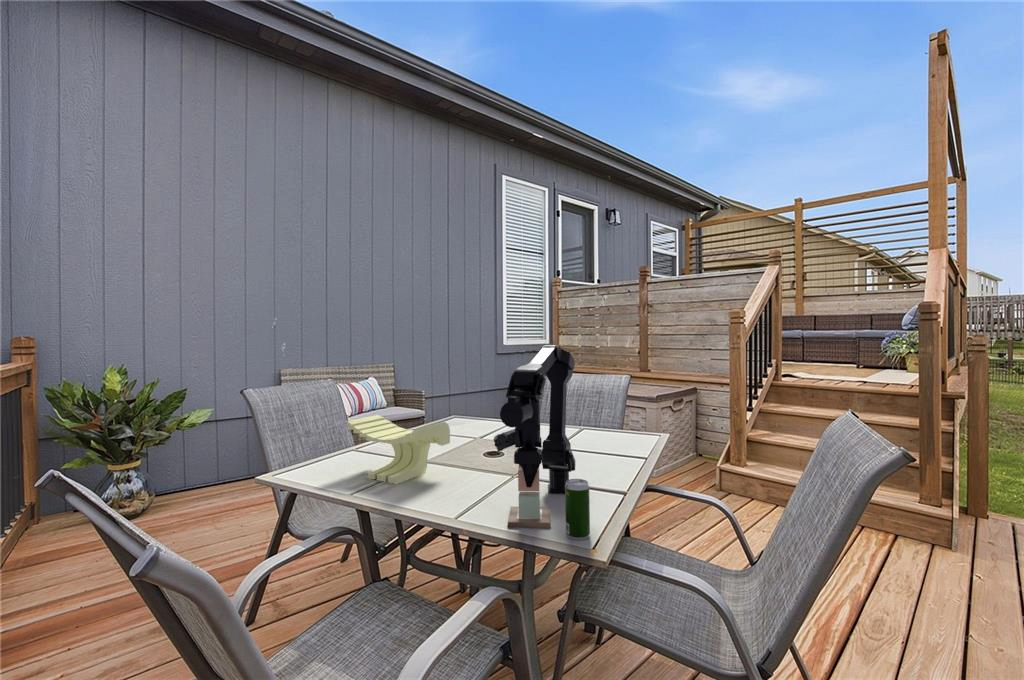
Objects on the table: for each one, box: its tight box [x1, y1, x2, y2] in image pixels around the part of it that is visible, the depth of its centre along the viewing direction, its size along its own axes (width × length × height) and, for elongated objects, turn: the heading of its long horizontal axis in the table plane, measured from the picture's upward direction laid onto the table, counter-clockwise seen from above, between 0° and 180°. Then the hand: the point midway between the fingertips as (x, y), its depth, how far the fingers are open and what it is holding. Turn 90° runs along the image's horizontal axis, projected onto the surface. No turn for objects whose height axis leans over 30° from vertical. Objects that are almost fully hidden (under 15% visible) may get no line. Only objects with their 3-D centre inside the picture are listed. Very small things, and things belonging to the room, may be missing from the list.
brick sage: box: [518, 489, 541, 518], centre depth 112 cm, size 5×5×5 cm
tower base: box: [507, 506, 551, 529], centre depth 112 cm, size 10×10×1 cm
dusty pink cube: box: [517, 464, 540, 492], centre depth 112 cm, size 5×5×5 cm
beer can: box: [564, 478, 591, 541], centre depth 102 cm, size 5×5×12 cm
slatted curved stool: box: [346, 414, 451, 485], centre depth 151 cm, size 30×16×18 cm, turn 60°
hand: (529, 483), depth 112 cm, fingers closed on dusty pink cube, 5 cm apart
